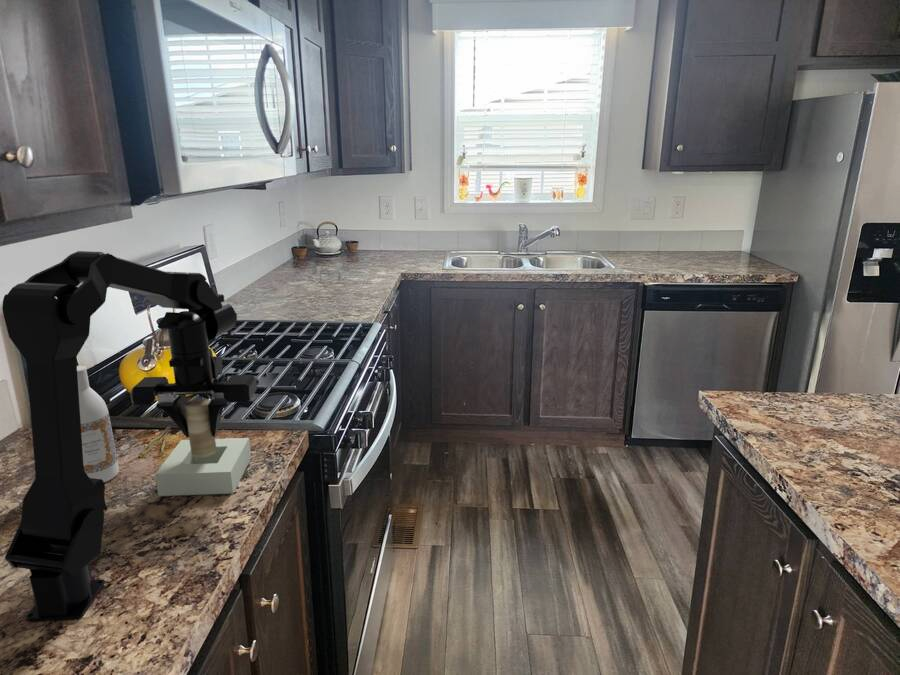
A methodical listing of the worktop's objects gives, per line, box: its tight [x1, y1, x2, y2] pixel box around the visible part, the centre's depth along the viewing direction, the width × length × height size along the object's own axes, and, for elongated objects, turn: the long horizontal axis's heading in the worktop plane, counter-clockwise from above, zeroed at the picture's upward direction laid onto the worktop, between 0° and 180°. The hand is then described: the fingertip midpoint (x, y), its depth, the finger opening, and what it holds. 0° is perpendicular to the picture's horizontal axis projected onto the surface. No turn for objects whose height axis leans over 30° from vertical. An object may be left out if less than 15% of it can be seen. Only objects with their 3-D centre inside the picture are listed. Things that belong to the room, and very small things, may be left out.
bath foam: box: [77, 365, 120, 483], centre depth 102 cm, size 7×7×20 cm
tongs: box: [138, 426, 172, 459], centre depth 117 cm, size 4×13×2 cm, turn 13°
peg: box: [184, 398, 217, 458], centre depth 102 cm, size 4×4×9 cm
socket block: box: [154, 437, 252, 497], centre depth 105 cm, size 12×12×4 cm
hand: (201, 436), depth 103 cm, fingers closed on peg, 4 cm apart
